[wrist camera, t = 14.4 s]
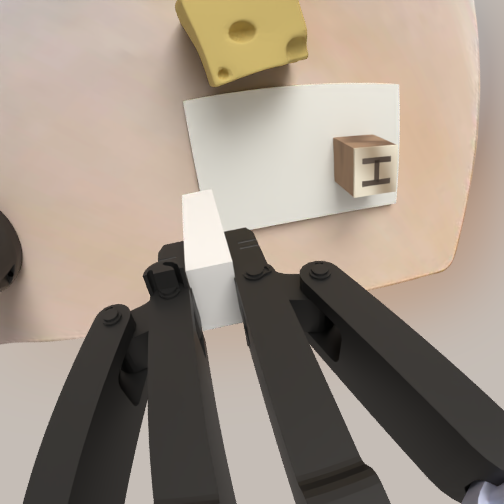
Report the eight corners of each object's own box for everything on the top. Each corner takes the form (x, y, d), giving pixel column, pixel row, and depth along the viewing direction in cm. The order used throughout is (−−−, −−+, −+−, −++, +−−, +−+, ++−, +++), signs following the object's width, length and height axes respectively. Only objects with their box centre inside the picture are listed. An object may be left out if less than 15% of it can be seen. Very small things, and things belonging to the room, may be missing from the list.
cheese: (291, 62, 33) (323, 59, 24) (205, 89, 33) (209, 93, 24) (264, -12, 27) (288, -37, 18) (175, 14, 27) (170, -8, 19)
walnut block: (395, 191, 36) (372, 175, 41) (398, 145, 33) (373, 134, 38) (354, 197, 35) (334, 180, 40) (354, 148, 32) (333, 137, 37)
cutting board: (209, 233, 43) (210, 237, 42) (183, 100, 33) (183, 101, 32) (391, 200, 45) (395, 203, 44) (394, 83, 35) (399, 84, 34)
